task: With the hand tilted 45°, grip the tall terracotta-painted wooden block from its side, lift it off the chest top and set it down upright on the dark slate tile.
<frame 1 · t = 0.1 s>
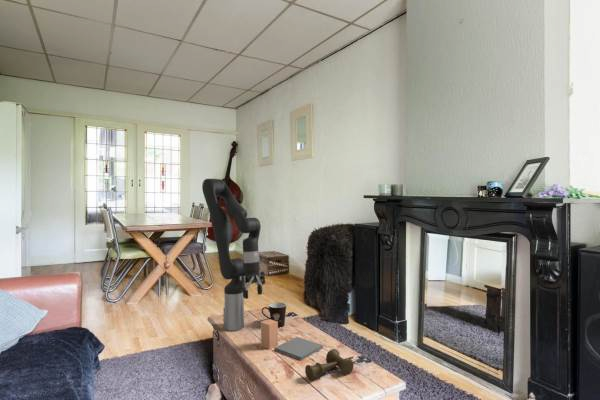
hand: (253, 296, 155), 17 cm above the table, tool pointing down, fingers open, 8 cm apart
terracotta block: (269, 345, 142), on the table
slate tile: (299, 349, 138), on the table
coffee mug: (275, 325, 167), on the table
kendama: (331, 373, 120), on the table
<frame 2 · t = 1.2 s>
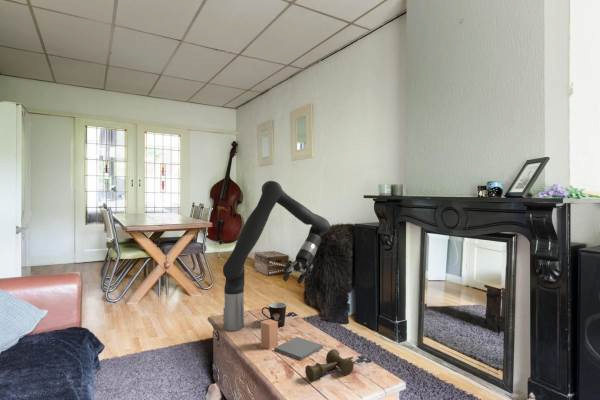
hand: (291, 281, 153), 24 cm above the table, tool tilted 45°, fingers open, 8 cm apart
nothing on the table moved.
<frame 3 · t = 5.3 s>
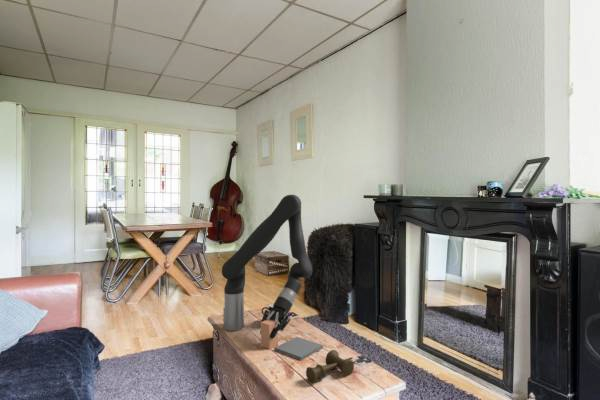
hand: (266, 335, 141), 5 cm above the table, tool tilted 45°, fingers closed on terracotta block, 5 cm apart
terracotta block: (269, 345, 142), on the table, touching gripper
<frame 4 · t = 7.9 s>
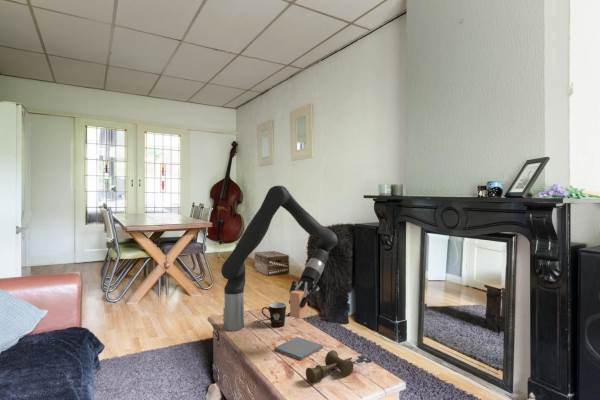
hand: (295, 305, 137), 18 cm above the table, tool tilted 45°, fingers closed on terracotta block, 5 cm apart
terracotta block: (298, 315, 139), point 14 cm above the table, touching gripper
when the fingers open (7 cm above the table, at t = 10.9 s): terracotta block drops 1 cm, resting on slate tile.
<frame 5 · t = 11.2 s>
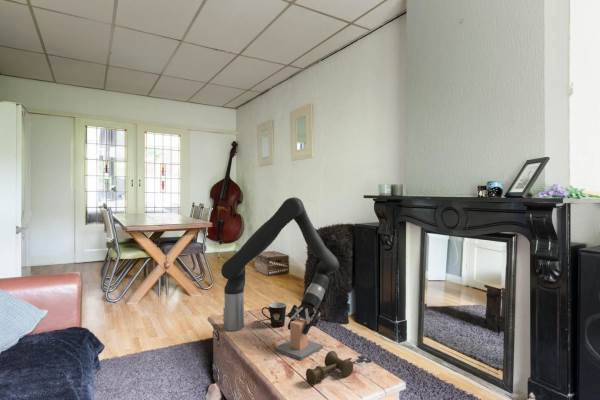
hand: (296, 331, 137), 8 cm above the table, tool tilted 45°, fingers open, 7 cm apart
terracotta block: (299, 346, 139), point 1 cm above the table, touching slate tile
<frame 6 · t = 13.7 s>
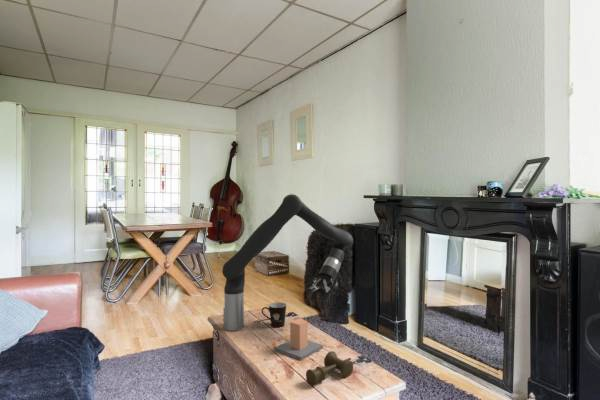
hand: (315, 299, 148), 18 cm above the table, tool tilted 45°, fingers open, 8 cm apart
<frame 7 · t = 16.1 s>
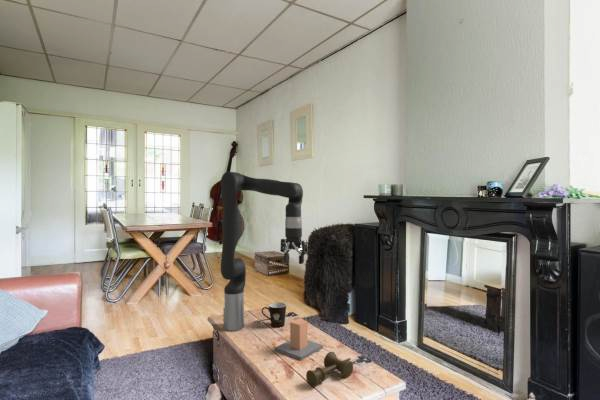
hand: (293, 262, 152), 33 cm above the table, tool pointing down, fingers open, 8 cm apart
at the end: terracotta block inside the target area on the slate tile (0.1 cm from its centre), point 1.2 cm above the slate tile's base; terracotta block tilted 0°; the gripper is holding nothing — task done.
